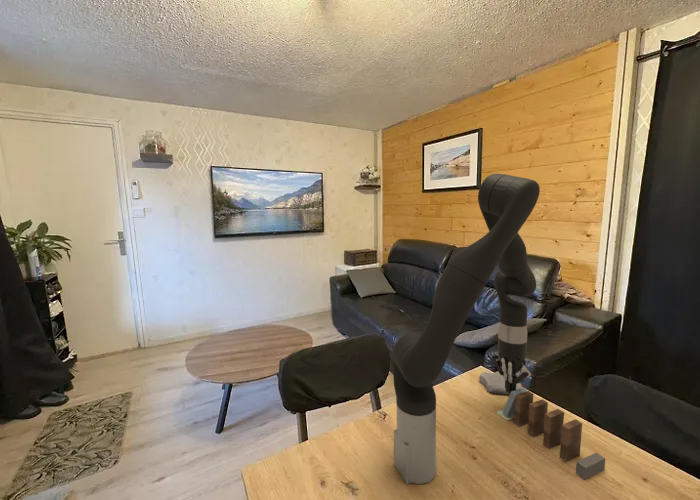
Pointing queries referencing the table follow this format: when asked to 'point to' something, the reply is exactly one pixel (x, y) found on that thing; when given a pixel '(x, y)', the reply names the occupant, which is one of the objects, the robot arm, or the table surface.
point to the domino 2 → (522, 408)
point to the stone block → (495, 382)
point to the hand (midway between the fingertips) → (510, 391)
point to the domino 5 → (570, 440)
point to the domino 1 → (512, 402)
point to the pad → (505, 416)
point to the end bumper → (590, 465)
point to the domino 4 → (553, 428)
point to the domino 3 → (537, 417)
